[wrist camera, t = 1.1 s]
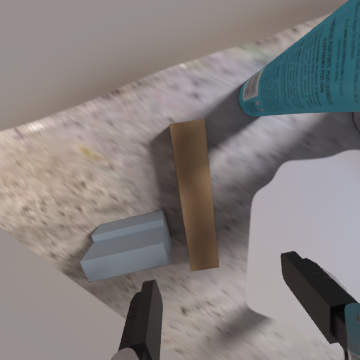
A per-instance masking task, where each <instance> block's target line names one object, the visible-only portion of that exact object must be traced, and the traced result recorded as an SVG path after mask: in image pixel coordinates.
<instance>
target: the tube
mask: <svg viewBox="0 0 360 360" xmlns="http://www.w3.org/2000/svg"><path fill="white" fill-rule="evenodd" d="M239 103H240V106H241V108H242V110H243V111H244V112H245V113H246V114H248V115H250V116H255V117H257V116H269V115H282V114H299V113H322V112H360V0H348V1H347V2H346V3H345V4H343V5H342V6H341V7H340V8H338V9H337V10H336V11H335V12H333V13H332V14H331V15H330V16H328V17H327V18H326V19H325V20H323V21H322V22H321V23H320V24H318V25H317V26H316V27H315V28H313V29H312V30H311V31H310V32H308V33H307V34H306V35H305V36H303V37H302V38H301V39H299V40H298V41H297V42H296V43H294V44H293V45H292V46H291V47H289V48H288V49H287V50H285V51H284V52H283V53H282V54H280V55H279V56H278V57H277V58H275V59H274V60H273V61H271V62H270V63H269V64H268V65H266V66H265V67H264V68H262V69H261V70H260V71H259V72H257V73H256V74H255V75H253V76H252V77H251V78H249V79H248V80H247V81H246V82H245V83H244V84H243V86H242V88H241V90H240V93H239Z"/></svg>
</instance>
